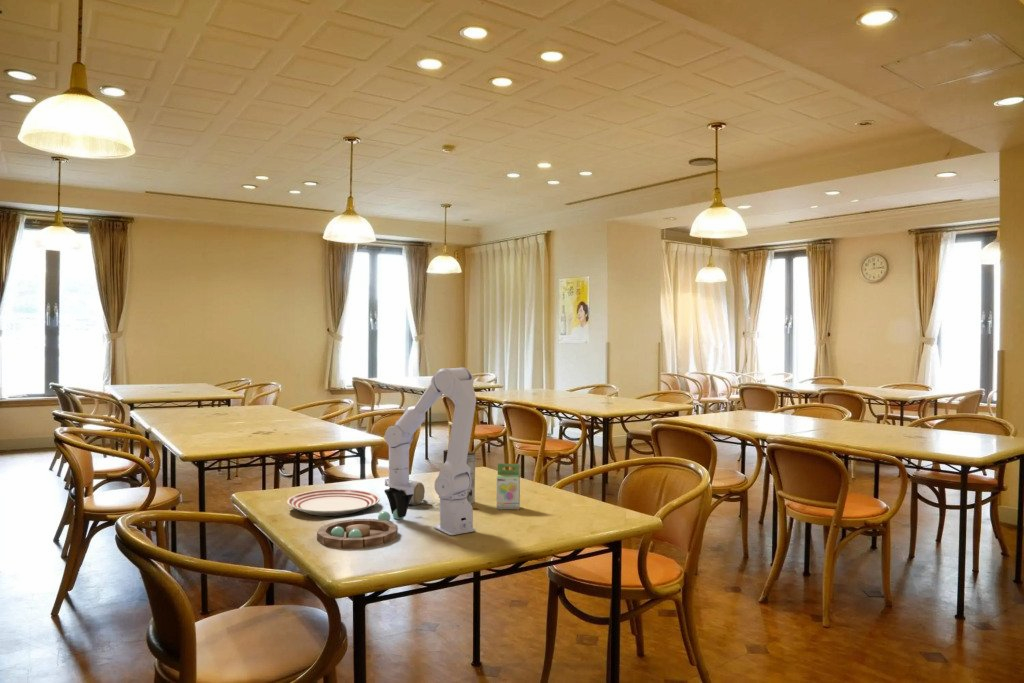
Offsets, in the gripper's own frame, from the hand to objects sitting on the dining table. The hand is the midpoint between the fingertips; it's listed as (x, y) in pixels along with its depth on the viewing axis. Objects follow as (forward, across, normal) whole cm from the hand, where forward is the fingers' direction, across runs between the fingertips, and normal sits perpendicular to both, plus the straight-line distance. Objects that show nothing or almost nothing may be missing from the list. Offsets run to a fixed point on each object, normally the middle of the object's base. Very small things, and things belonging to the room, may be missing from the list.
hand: (398, 515), depth 202 cm
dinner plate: (+2, +24, +10) cm, 26 cm away
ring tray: (+1, -11, +17) cm, 20 cm away
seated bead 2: (+1, -16, +20) cm, 25 cm away
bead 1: (+1, -1, +5) cm, 5 cm away
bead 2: (+1, 0, 0) cm, 1 cm away
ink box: (+2, -6, -34) cm, 35 cm away
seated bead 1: (+1, -11, +22) cm, 25 cm away
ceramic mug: (+2, +17, -12) cm, 21 cm away
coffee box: (+2, +10, -26) cm, 28 cm away
